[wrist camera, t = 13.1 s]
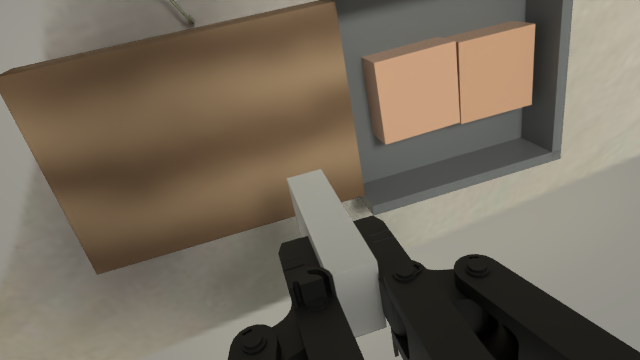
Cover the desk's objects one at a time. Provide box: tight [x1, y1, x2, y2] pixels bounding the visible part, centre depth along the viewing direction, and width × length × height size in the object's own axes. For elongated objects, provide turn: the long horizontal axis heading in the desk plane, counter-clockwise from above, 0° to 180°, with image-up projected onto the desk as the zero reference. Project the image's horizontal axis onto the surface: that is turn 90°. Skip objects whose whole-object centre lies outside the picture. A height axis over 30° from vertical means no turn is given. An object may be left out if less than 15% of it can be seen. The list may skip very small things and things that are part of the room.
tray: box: [329, 0, 573, 215], centre depth 32 cm, size 16×16×4 cm
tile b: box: [444, 21, 535, 124], centre depth 33 cm, size 6×6×2 cm
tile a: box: [361, 37, 460, 145], centre depth 32 cm, size 6×6×2 cm
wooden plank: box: [0, 0, 365, 275], centre depth 30 cm, size 14×20×3 cm
